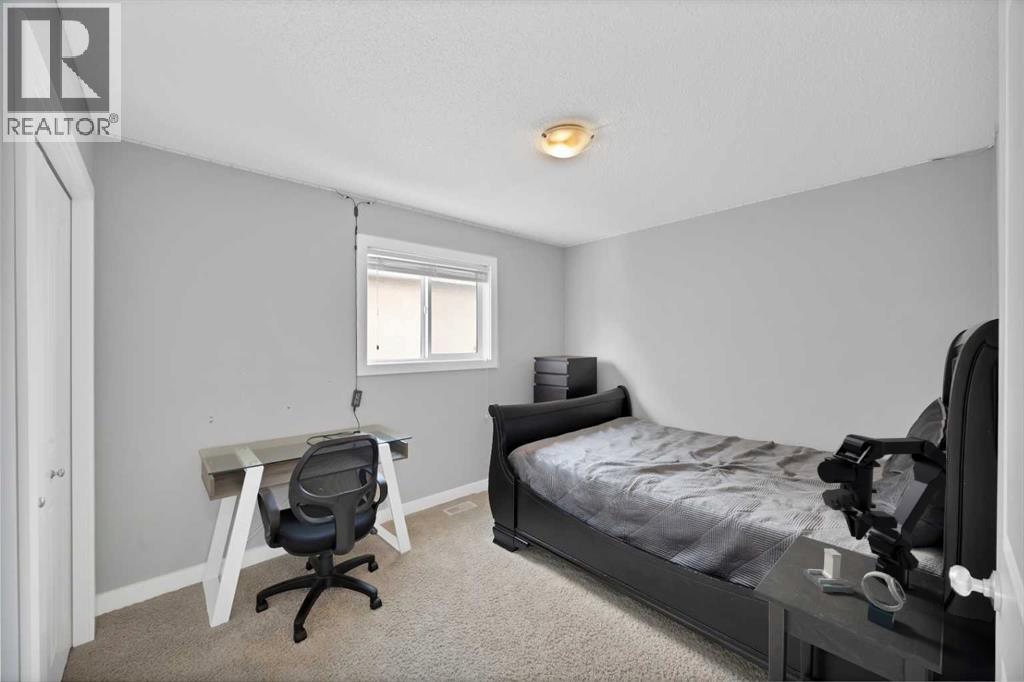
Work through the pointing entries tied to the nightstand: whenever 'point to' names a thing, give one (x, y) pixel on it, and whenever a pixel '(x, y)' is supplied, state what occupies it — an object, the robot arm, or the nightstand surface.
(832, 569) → the handle
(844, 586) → the breaker panel
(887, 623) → the watch
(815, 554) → the nightstand surface
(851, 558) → the nightstand surface
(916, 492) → the robot arm
